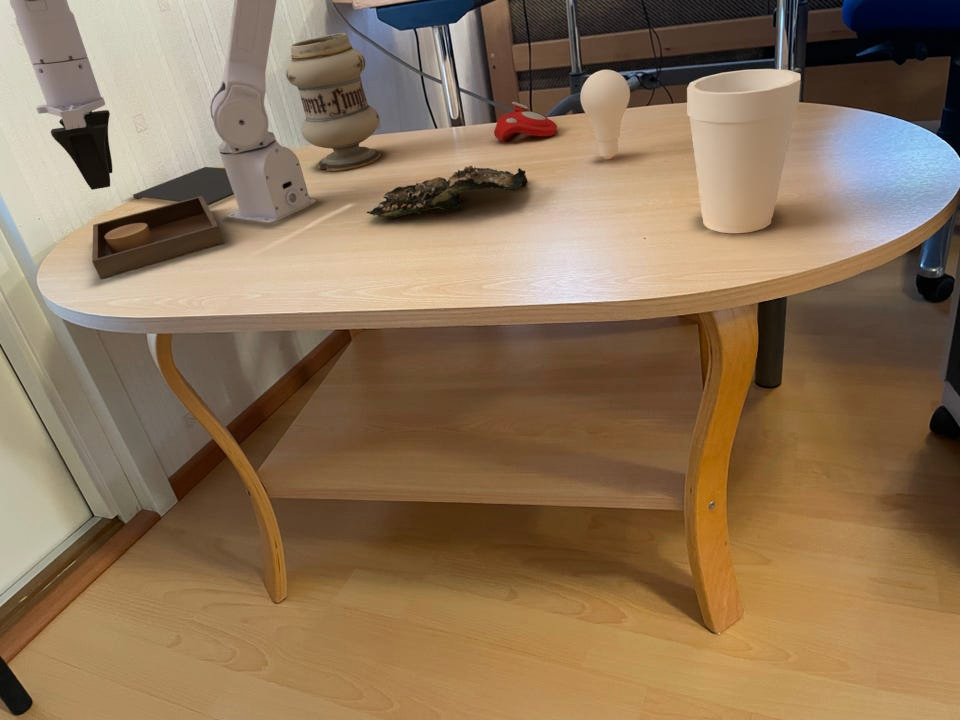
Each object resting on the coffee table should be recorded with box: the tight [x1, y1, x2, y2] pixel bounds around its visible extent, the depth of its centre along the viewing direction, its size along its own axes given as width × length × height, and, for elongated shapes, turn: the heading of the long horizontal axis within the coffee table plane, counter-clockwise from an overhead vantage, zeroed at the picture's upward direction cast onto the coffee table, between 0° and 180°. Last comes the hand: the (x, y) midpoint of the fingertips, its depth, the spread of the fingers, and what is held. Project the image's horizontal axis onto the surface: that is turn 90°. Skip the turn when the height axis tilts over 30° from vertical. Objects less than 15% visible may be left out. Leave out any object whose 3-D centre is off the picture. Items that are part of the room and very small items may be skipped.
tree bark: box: [366, 165, 528, 219], centre depth 85 cm, size 19×6×15 cm
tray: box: [91, 196, 225, 280], centre depth 88 cm, size 16×14×3 cm
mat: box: [132, 166, 234, 206], centre depth 110 cm, size 20×14×1 cm
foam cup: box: [686, 68, 802, 234], centre depth 65 cm, size 10×9×13 cm
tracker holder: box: [493, 101, 558, 142], centre depth 108 cm, size 12×4×10 cm
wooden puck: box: [104, 223, 153, 253], centre depth 88 cm, size 5×5×2 cm
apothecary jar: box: [285, 33, 381, 172], centre depth 106 cm, size 12×12×18 cm
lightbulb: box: [579, 69, 631, 160], centre depth 89 cm, size 6×6×11 cm
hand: (102, 180), depth 85 cm, fingers open, 7 cm apart
